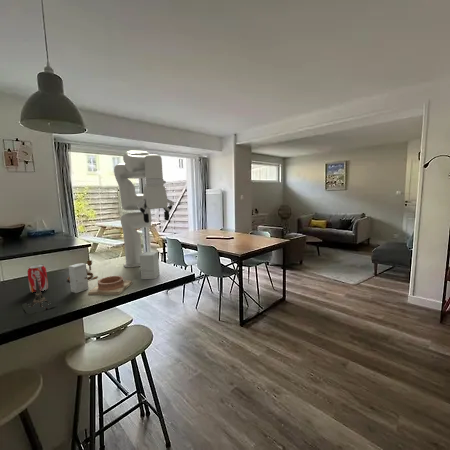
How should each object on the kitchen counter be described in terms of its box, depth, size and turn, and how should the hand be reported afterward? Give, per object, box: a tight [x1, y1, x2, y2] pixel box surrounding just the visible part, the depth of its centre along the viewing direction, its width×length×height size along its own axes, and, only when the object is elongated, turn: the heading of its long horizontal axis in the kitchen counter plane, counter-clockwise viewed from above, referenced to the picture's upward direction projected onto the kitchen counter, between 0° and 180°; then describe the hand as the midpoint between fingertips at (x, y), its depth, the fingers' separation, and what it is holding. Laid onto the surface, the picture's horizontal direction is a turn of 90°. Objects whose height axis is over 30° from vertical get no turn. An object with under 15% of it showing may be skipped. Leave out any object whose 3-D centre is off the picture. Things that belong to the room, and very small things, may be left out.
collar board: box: [87, 275, 133, 296], centre depth 123 cm, size 14×14×4 cm
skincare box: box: [68, 262, 89, 294], centre depth 121 cm, size 6×4×12 cm
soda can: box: [27, 263, 49, 293], centre depth 122 cm, size 7×7×12 cm
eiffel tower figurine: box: [29, 277, 50, 307], centre depth 106 cm, size 15×10×13 cm
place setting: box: [66, 259, 99, 282], centre depth 142 cm, size 18×20×6 cm
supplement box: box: [139, 251, 160, 280], centre depth 137 cm, size 7×7×13 cm
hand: (157, 221), depth 120 cm, fingers open, 9 cm apart
